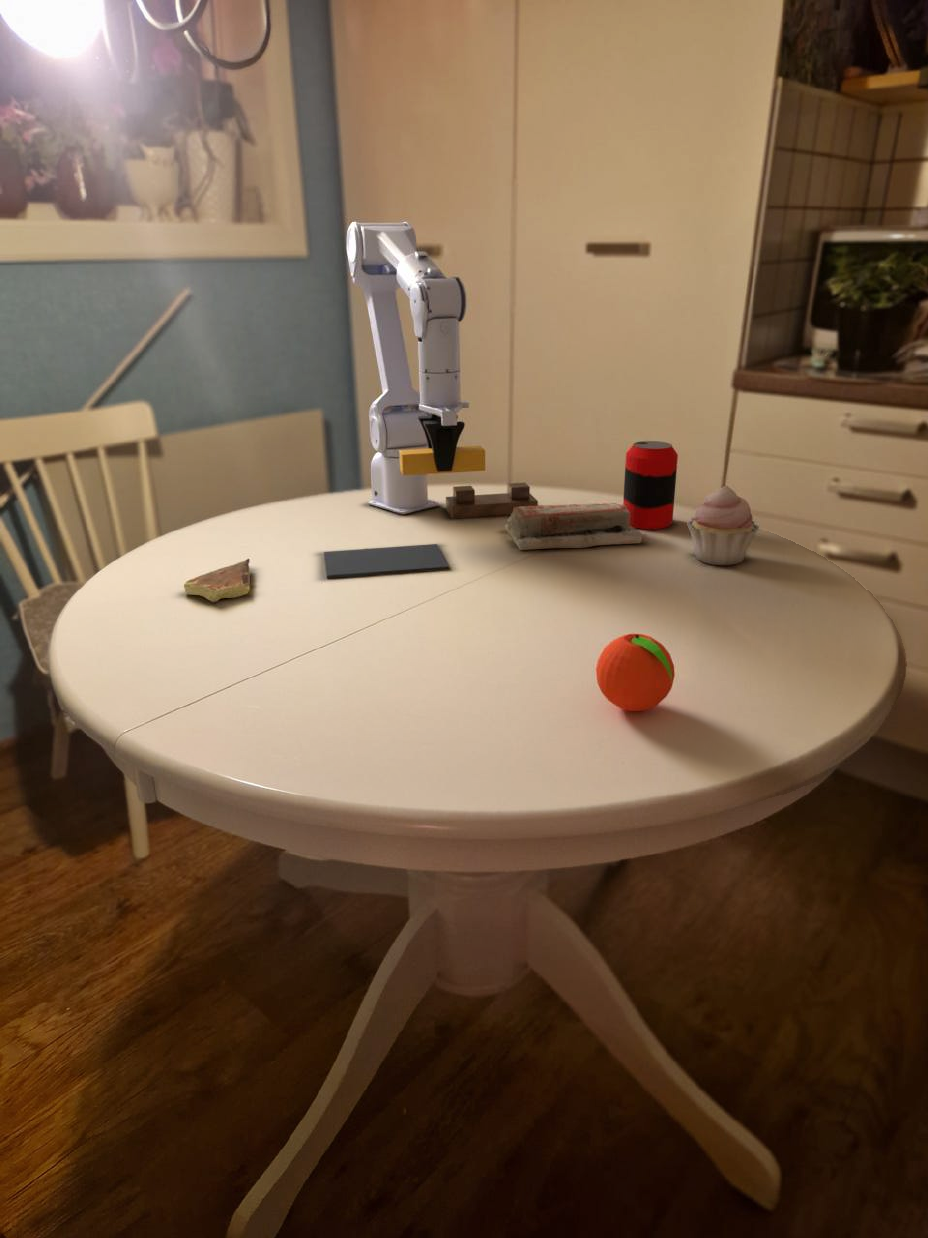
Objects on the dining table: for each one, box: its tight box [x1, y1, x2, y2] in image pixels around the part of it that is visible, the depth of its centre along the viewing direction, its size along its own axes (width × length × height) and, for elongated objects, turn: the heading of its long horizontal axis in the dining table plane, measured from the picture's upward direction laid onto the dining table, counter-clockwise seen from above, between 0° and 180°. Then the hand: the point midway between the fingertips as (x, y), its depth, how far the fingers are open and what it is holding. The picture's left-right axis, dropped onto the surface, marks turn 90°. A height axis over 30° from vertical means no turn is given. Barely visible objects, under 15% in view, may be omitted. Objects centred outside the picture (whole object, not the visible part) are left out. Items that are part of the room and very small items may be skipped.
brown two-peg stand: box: [445, 482, 539, 519], centre depth 140 cm, size 14×6×4 cm, turn 101°
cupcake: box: [686, 485, 760, 566], centre depth 115 cm, size 9×9×10 cm
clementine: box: [595, 633, 676, 712], centre depth 77 cm, size 8×7×7 cm
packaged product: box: [505, 502, 643, 551], centre depth 125 cm, size 18×5×10 cm
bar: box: [399, 445, 486, 475], centre depth 125 cm, size 12×3×3 cm, turn 101°
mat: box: [323, 543, 450, 579], centre depth 117 cm, size 16×10×1 cm, turn 101°
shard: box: [183, 558, 251, 603], centre depth 109 cm, size 11×8×2 cm
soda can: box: [622, 440, 679, 530], centre depth 130 cm, size 8×8×12 cm
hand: (442, 467), depth 125 cm, fingers closed on bar, 3 cm apart
